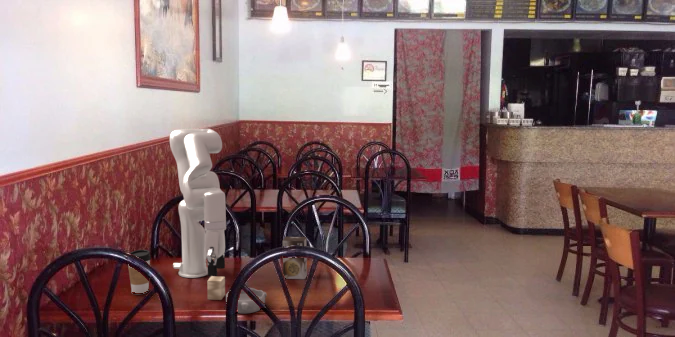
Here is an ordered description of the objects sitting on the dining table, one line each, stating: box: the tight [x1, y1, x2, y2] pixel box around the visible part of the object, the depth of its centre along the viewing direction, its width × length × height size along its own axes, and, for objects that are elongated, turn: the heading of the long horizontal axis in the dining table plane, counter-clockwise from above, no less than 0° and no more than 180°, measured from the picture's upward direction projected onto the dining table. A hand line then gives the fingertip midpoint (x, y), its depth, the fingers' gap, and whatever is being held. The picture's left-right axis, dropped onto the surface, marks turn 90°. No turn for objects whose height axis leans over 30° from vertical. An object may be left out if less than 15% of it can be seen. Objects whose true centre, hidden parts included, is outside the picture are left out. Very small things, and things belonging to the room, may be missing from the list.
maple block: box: [206, 275, 226, 301], centre depth 199 cm, size 5×5×7 cm
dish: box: [225, 287, 267, 314], centre depth 191 cm, size 14×14×5 cm
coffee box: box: [282, 236, 308, 280], centre depth 223 cm, size 9×6×16 cm
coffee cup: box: [128, 249, 152, 294], centre depth 204 cm, size 8×8×15 cm
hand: (216, 272), depth 198 cm, fingers open, 9 cm apart
